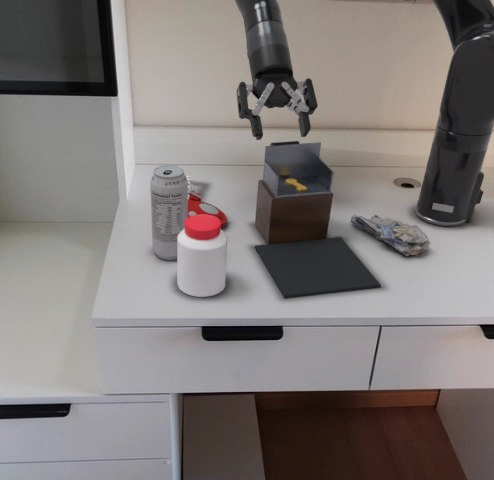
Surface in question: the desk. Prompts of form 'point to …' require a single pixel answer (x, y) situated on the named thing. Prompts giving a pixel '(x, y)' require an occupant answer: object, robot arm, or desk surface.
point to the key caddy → (296, 169)
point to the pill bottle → (201, 256)
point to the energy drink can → (168, 209)
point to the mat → (315, 267)
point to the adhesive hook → (190, 184)
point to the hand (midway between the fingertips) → (282, 136)
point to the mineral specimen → (395, 233)
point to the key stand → (292, 216)
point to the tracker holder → (203, 208)
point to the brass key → (295, 184)
